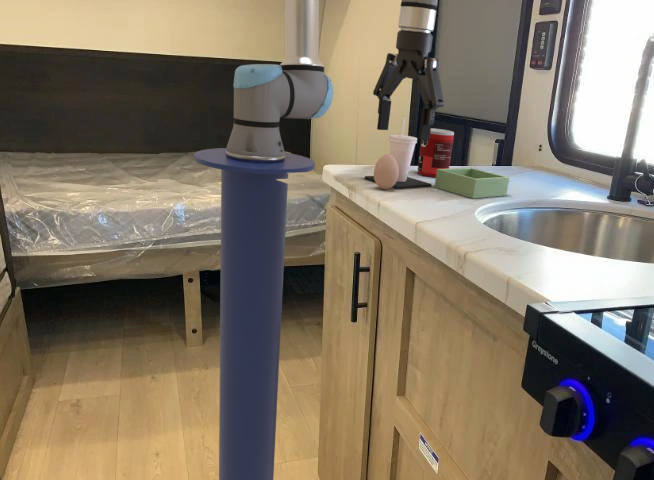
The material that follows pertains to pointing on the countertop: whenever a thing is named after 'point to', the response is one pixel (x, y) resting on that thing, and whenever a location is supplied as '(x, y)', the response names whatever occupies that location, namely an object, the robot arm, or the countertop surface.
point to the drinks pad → (405, 183)
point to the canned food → (435, 152)
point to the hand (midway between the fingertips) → (402, 134)
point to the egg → (386, 172)
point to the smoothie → (402, 151)
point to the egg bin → (471, 182)
